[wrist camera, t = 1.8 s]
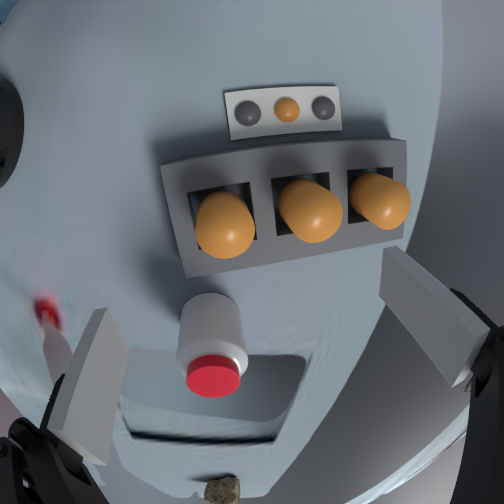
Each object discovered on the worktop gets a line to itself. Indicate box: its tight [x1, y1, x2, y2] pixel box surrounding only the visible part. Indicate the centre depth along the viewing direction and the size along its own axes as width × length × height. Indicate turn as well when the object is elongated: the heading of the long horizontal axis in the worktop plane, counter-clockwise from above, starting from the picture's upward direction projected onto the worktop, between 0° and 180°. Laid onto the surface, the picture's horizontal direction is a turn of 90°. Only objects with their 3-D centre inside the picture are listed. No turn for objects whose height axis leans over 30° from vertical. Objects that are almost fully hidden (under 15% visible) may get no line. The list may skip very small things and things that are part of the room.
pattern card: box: [224, 86, 342, 140], centre depth 25 cm, size 12×5×1 cm, turn 97°
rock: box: [204, 477, 240, 504], centre depth 63 cm, size 11×12×10 cm
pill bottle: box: [177, 293, 248, 397], centre depth 30 cm, size 8×8×11 cm
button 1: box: [350, 172, 411, 230], centre depth 26 cm, size 5×5×4 cm
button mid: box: [278, 179, 343, 243], centre depth 26 cm, size 5×5×4 cm
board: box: [160, 138, 407, 278], centre depth 29 cm, size 26×12×3 cm, turn 97°
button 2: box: [195, 190, 255, 259], centre depth 25 cm, size 5×5×4 cm
